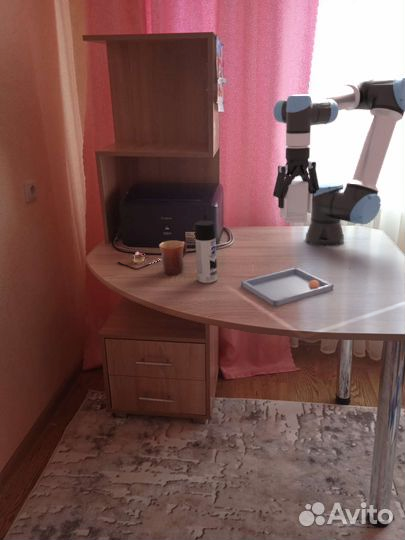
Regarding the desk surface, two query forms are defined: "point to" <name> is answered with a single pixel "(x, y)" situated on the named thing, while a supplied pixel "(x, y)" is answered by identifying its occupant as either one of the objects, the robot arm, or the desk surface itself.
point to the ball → (313, 284)
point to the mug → (173, 256)
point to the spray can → (206, 251)
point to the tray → (285, 286)
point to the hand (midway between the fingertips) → (295, 214)
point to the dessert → (140, 257)
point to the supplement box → (297, 202)
